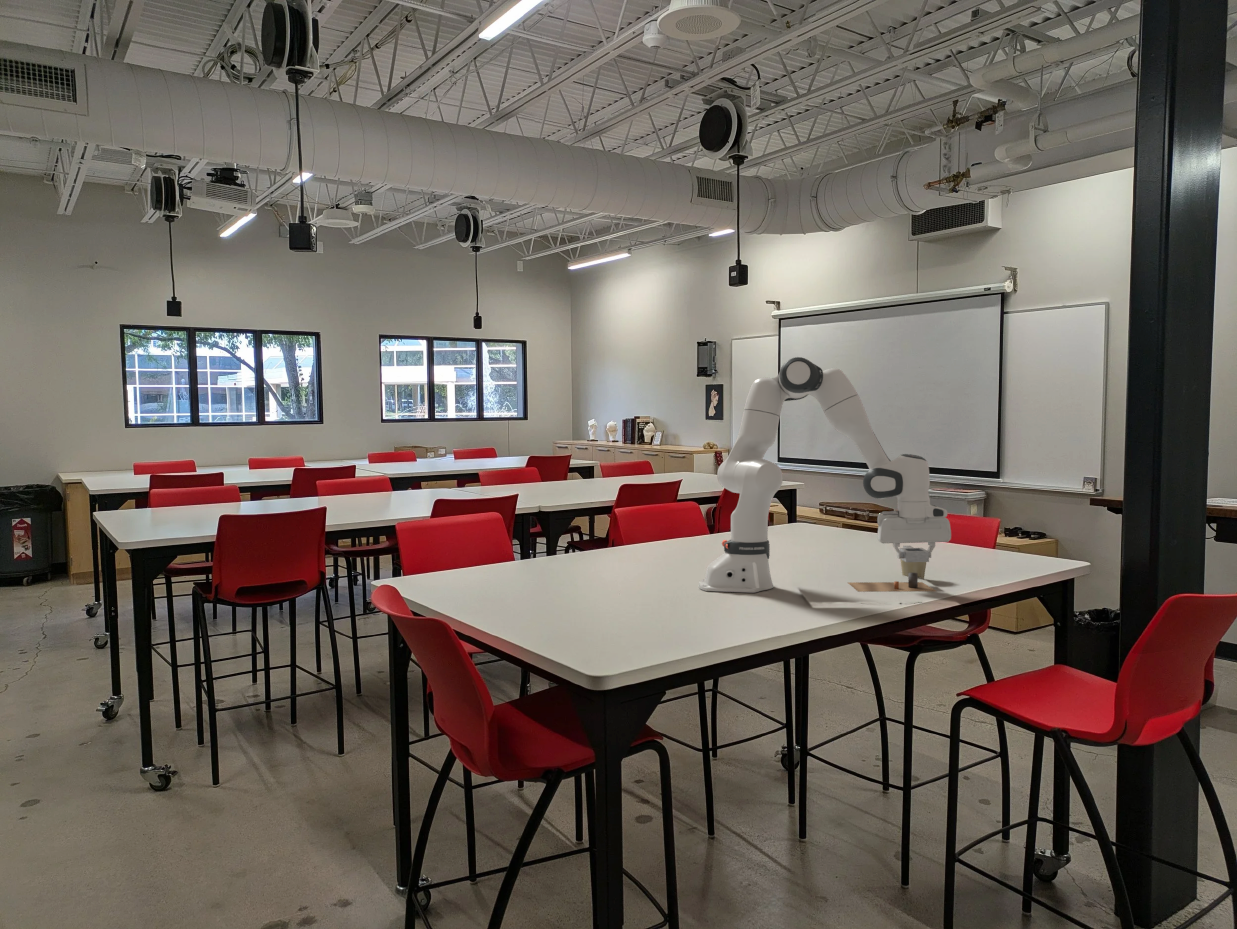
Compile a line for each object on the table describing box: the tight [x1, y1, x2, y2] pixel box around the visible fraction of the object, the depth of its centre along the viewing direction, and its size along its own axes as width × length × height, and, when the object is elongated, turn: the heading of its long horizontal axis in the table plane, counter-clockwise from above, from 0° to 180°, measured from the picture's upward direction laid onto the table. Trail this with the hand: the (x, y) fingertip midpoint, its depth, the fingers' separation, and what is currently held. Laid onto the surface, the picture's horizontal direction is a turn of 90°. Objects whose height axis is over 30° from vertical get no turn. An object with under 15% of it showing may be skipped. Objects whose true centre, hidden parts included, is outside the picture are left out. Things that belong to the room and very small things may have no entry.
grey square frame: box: [899, 545, 930, 563], centre depth 237 cm, size 10×6×3 cm, turn 177°
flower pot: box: [899, 559, 927, 580], centre depth 253 cm, size 9×9×9 cm
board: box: [847, 572, 937, 593], centre depth 236 cm, size 22×13×6 cm, turn 87°
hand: (914, 557), depth 235 cm, fingers closed on grey square frame, 6 cm apart
